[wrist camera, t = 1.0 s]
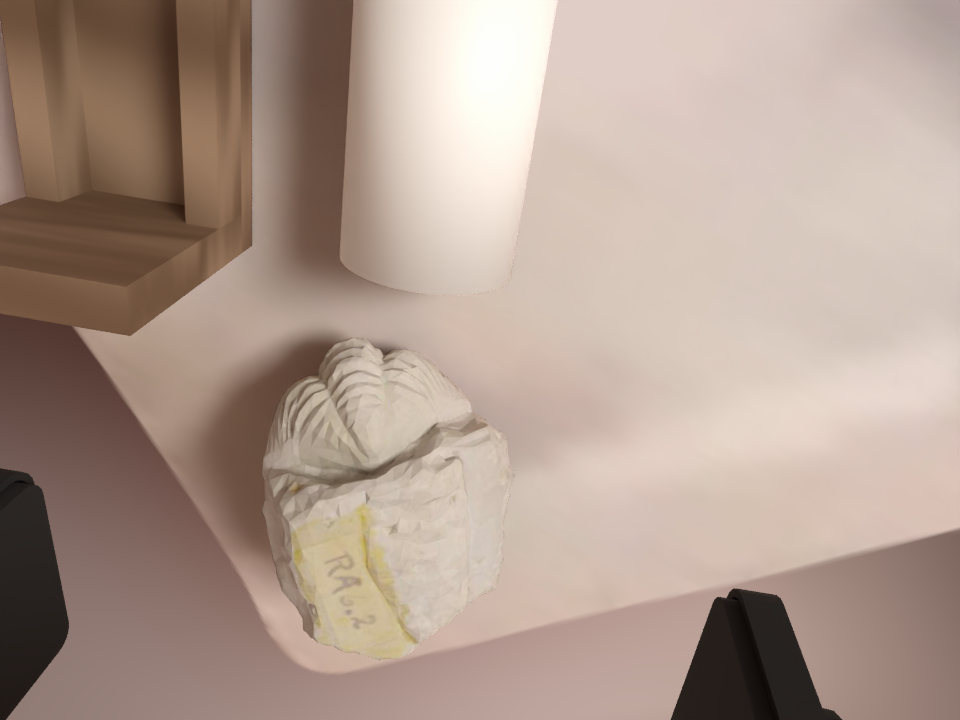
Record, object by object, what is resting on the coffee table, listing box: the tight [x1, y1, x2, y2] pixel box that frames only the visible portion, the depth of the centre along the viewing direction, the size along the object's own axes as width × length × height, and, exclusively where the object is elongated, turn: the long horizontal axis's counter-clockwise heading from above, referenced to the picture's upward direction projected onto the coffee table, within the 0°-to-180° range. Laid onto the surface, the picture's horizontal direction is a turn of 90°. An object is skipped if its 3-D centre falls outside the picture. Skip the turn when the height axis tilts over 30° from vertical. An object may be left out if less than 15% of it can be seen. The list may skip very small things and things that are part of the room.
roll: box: [340, 0, 558, 296], centre depth 23 cm, size 12×6×6 cm, turn 172°
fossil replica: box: [262, 338, 514, 660], centre depth 28 cm, size 12×8×10 cm
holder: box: [0, 0, 252, 336], centre depth 21 cm, size 16×7×9 cm, turn 172°
